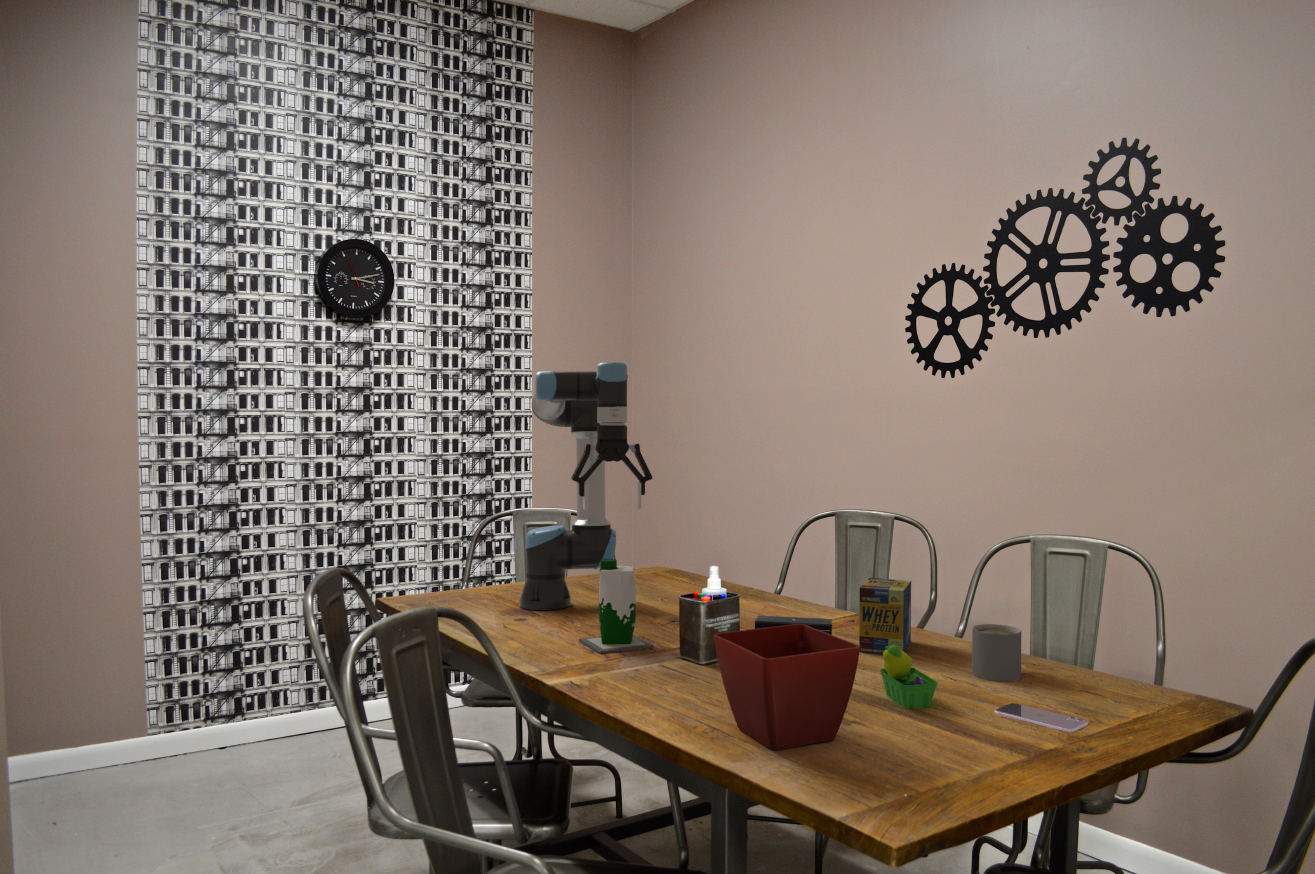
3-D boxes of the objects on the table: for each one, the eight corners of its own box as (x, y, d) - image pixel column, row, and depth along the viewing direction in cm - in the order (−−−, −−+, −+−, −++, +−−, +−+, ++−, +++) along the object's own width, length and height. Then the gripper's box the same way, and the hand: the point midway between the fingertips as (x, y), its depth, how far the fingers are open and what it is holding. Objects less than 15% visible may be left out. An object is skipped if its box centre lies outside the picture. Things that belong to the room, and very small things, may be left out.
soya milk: (600, 636, 232) (599, 557, 231) (636, 636, 232) (636, 557, 231) (598, 645, 223) (597, 562, 223) (635, 645, 223) (635, 562, 223)
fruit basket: (939, 709, 176) (940, 650, 176) (895, 711, 174) (896, 652, 174) (913, 691, 187) (913, 636, 187) (872, 694, 186) (872, 638, 185)
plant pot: (764, 761, 149) (765, 657, 149) (711, 725, 166) (711, 632, 166) (863, 744, 157) (863, 645, 156) (801, 712, 174) (802, 623, 174)
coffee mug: (997, 683, 193) (997, 636, 192) (962, 672, 202) (962, 626, 201) (1043, 675, 199) (1043, 629, 198) (1006, 664, 207) (1007, 620, 207)
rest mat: (578, 641, 230) (578, 638, 230) (630, 635, 236) (630, 632, 236) (599, 653, 217) (599, 650, 217) (653, 647, 224) (653, 644, 224)
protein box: (858, 652, 219) (858, 587, 219) (869, 638, 233) (869, 577, 233) (903, 656, 215) (904, 590, 215) (911, 641, 229) (912, 579, 229)
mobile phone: (1012, 700, 179) (1090, 719, 168) (1012, 705, 179) (1090, 725, 168) (991, 709, 174) (1071, 729, 162) (991, 714, 174) (1071, 734, 163)
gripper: (564, 424, 224) (564, 511, 225) (664, 424, 230) (664, 509, 231) (560, 424, 231) (560, 508, 232) (656, 423, 237) (656, 505, 238)
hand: (612, 509), depth 231 cm, fingers open, 13 cm apart
